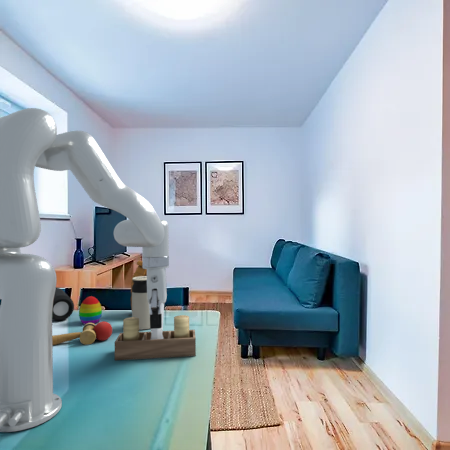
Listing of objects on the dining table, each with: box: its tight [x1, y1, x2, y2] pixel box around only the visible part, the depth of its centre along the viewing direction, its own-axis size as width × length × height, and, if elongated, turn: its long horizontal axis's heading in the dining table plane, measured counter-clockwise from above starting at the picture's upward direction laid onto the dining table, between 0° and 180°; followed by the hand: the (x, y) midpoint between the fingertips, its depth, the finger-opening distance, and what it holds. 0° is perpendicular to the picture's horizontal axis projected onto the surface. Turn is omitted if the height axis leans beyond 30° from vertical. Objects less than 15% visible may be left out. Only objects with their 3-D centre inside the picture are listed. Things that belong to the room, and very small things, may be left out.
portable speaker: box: [52, 287, 75, 322], centre depth 142 cm, size 26×10×10 cm, turn 33°
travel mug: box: [131, 276, 151, 331], centre depth 124 cm, size 8×8×18 cm
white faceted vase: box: [149, 299, 165, 340], centre depth 99 cm, size 5×4×15 cm
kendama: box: [52, 321, 113, 346], centre depth 109 cm, size 8×6×18 cm
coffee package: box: [130, 260, 147, 309], centre depth 140 cm, size 10×12×22 cm
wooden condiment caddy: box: [114, 314, 197, 361], centre depth 99 cm, size 8×22×10 cm, turn 96°
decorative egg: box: [78, 295, 103, 325], centre depth 130 cm, size 8×8×10 cm
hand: (156, 324), depth 99 cm, fingers closed on white faceted vase, 4 cm apart
